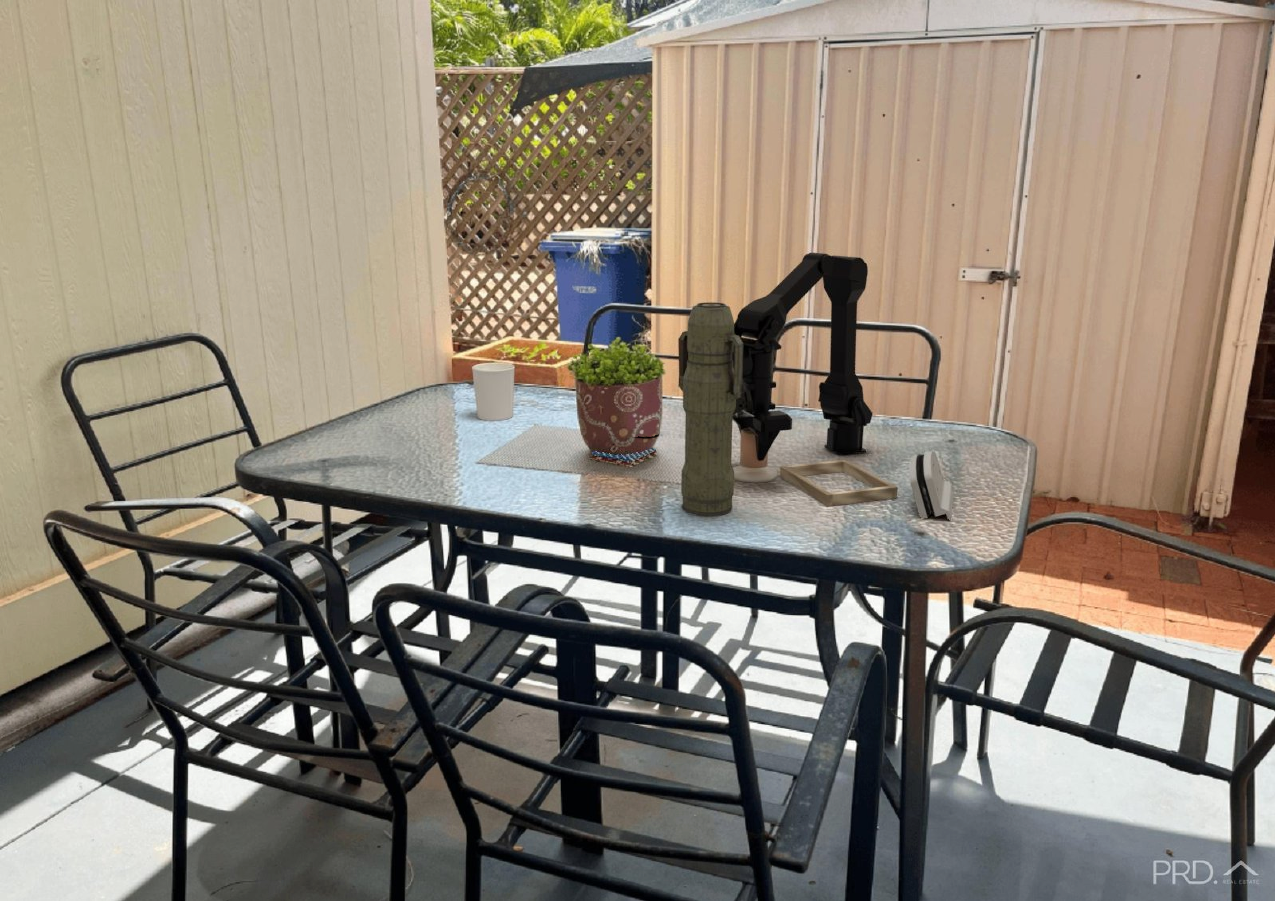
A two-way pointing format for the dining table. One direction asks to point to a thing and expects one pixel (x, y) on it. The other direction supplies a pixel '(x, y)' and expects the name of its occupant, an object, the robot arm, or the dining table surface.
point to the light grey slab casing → (930, 486)
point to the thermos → (709, 407)
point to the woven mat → (624, 457)
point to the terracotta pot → (750, 451)
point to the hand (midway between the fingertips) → (754, 456)
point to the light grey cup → (494, 390)
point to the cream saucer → (754, 474)
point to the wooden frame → (877, 492)
